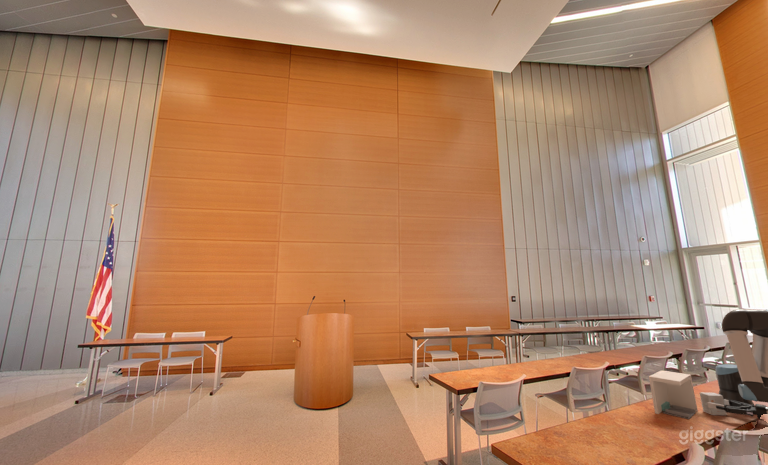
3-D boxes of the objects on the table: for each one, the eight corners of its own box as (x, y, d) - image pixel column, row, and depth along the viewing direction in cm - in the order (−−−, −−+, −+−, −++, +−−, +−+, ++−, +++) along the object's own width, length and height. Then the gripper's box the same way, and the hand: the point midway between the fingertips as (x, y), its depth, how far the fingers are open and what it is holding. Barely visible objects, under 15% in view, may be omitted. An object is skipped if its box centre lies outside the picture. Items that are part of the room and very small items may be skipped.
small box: (717, 411, 177) (713, 392, 179) (727, 415, 172) (723, 395, 174) (702, 411, 178) (698, 392, 180) (711, 415, 173) (707, 395, 175)
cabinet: (697, 411, 179) (690, 374, 182) (687, 421, 165) (679, 381, 169) (667, 404, 189) (661, 370, 193) (655, 413, 176) (648, 376, 180)
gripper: (767, 427, 152) (707, 414, 169) (772, 415, 166) (716, 404, 183) (764, 411, 153) (704, 399, 170) (768, 400, 167) (713, 391, 184)
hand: (710, 402), depth 177 cm, fingers open, 13 cm apart
